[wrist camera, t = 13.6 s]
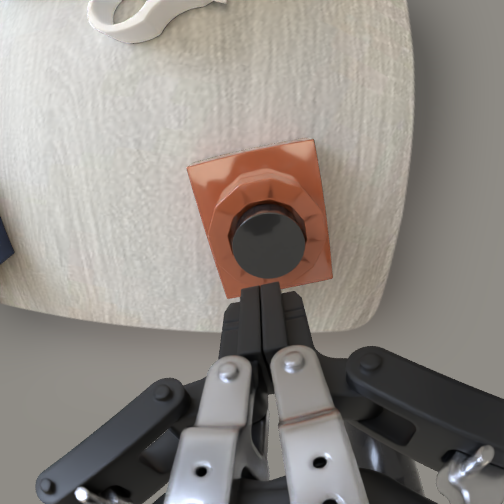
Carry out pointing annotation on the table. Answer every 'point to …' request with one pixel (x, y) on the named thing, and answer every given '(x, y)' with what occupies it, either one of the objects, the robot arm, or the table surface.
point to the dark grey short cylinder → (268, 241)
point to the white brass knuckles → (139, 18)
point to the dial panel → (4, 244)
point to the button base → (263, 192)
